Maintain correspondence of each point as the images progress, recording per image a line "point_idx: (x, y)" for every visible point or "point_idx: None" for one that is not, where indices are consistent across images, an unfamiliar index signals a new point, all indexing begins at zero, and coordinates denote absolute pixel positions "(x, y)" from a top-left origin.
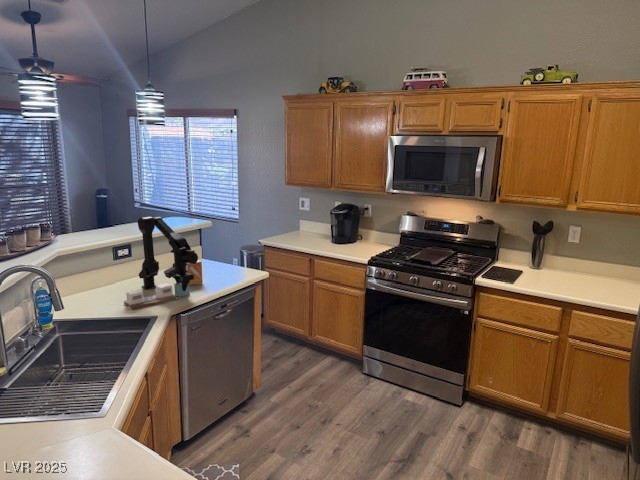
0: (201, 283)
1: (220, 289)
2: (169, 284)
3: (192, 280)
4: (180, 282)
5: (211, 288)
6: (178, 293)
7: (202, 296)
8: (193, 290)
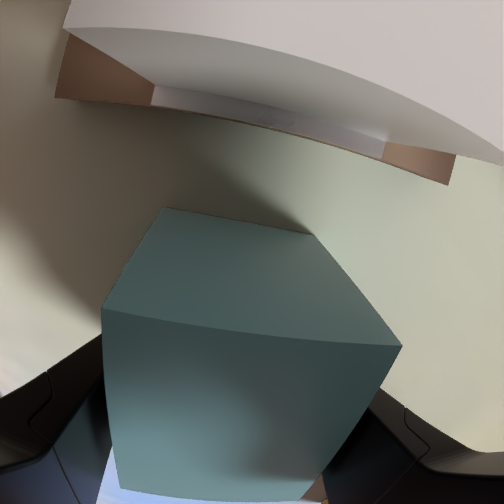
0: (324, 500)
1: (100, 497)
2: (355, 58)
3: None
4: (326, 458)
5: (164, 496)
6: (169, 226)
7: (4, 368)
8: None
